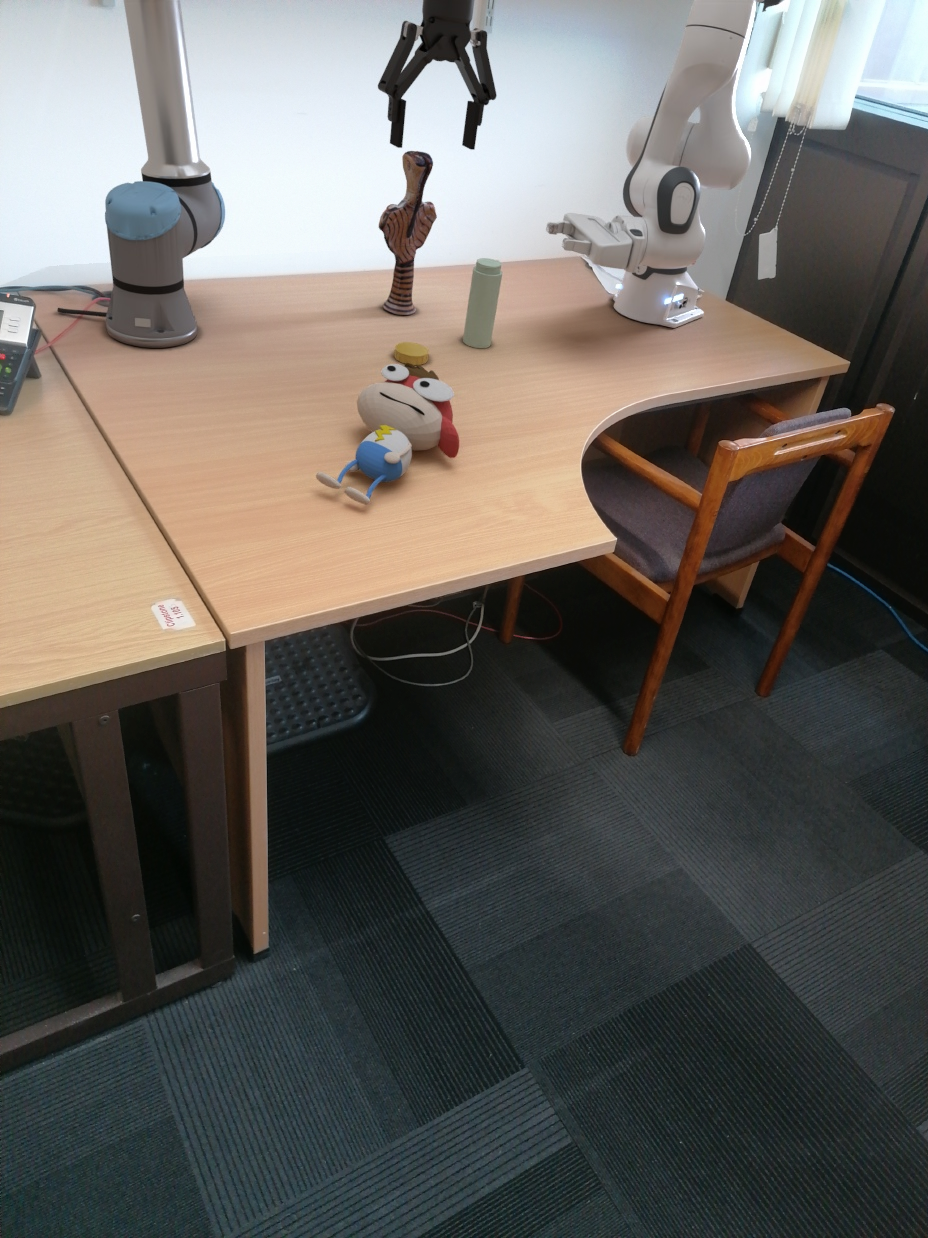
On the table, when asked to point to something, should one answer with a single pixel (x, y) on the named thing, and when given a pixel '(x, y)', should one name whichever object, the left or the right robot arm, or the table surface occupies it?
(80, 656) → the table surface
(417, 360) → the lid
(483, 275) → the jar
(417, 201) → the figurine
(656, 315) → the right robot arm
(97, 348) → the table surface
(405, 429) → the toy
